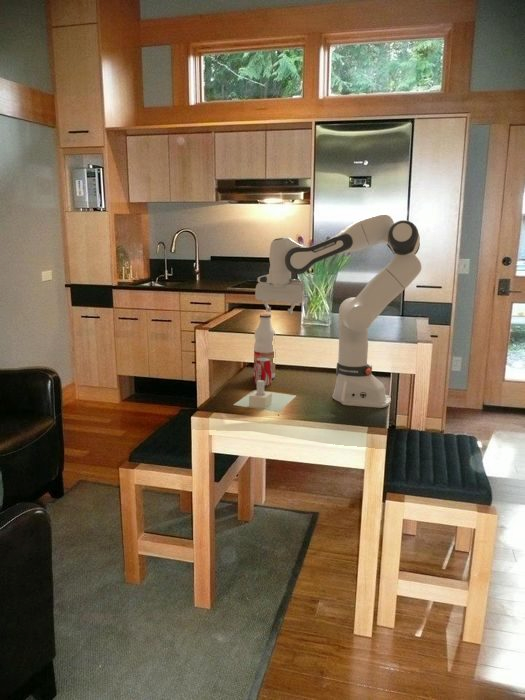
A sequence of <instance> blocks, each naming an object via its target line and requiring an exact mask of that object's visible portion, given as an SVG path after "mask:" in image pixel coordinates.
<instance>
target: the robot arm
mask: <svg viewBox="0 0 525 700" xmlns="http://www.w3.org/2000/svg"><path fill="white" fill-rule="evenodd" d="M420 239H421V238H420V234H419V230H418V227H417V226H416V225H415V224H414V223H413V222H412V221H410V220H405V219H402V220H398V221H396V222H395V221H394V220H393V218H392V217H391V216H390V215H389V214H388V213H383V212H382V213H376V214H373V215H369V216H366V217H364V218H361V219H359V220H356V221H354V222H352V223H351V224H349V225H347V226H345V227H344V228H343V229H341V230H340V231H338V232H337V233H336V234H335V235H333V236H332V237H330V238H328V239H326V240H324V241H321V242H319V243H316V244H313V245H311V246H305V245H302V244H300V243H298V242H296V241H294V240H293V239H292V238H291V237H288V236H287V237H286V236H285V237H284V236H283V237H279V238H274V239H273V240H272V241H271V242H270V246H269V247H270V248H269V264H270V265H269V269H268V270H269V272H268V274H264V275H261V276H258V277H257V282H258V283H256V286H255V290H254V291H255V294H254V297H255V299H256V300H257V301H263V305H264V307H265V312H267V313H269V312H271V311H272V310H271V309H272V307H271V306H269V302H281V303H290V308H288V309H287V314H290V315H292V314H293V312H294V310H293V309H294V308H295V306H296V304H301V303H304V302H305V291H304V290H305V287H306V286H305V282H304V281H303V280H302V279H296V278H295V279H294V278H292V274H295V275H301V274H304V273H306V272H307V271H309V270H310V269H311V268H312V267H313V266H314V264H316V263H318V262H322V261H324V260H325V259H329V258H330V257H333V256H336V255H339V254H345V253H352V252H358V251H364V250H366V249H368V248H370V247H374V246H376V245H379V244H386V246H387V247H388V248H389V250H390V251H391V252H392V254H393V255H394V256H393V258H392V260H391V261H390V262H389V263H388V264H387V265H386V266H384V267H383V268H382V269H381V270H380V271H379V272H378V273H376V275H375V276H374V277H373V278H371V279H370V280H369V281H368V282H367V284H366V285H365V286H364V287H363V289H362V290H361V291H360V292H359V293H358V295H357V296H354V297H353V296H352V297H348V298H346V299H344V300H342V302H341V304H340V306H339V309H338V359H337V363H336V370H335V371H336V372H335V374H336V381H335V385H334V391H333V393H332V395H331V397H332V399H334V400H335V401H337V402H339V403H340V404H341V405H344V406H351V407H353V406H354V407H364V408H365V407H366V408H379V409H381V408H386V407H388V406H389V405H390V404H391V401H392V398H391V397H390V395H389V394H386V388H385V385H384V383H383V382H382V381H381V380H379V379H378V378H377V377H376V376H375V375H373V365H370V364H368V353H369V352H368V351H369V350H368V348H369V340H368V339H369V338H368V328H370V327H371V325H372V324H373V322H374V321H376V320H377V318H378V317H379V316H380V314H381V313H382V312H383V311H384V310H385V309H386V307H387V306H388V305H389V304H391V302H392V301H394V299H395V298H397V297H398V296H399V295H400V294H401V293H403V291H404V290H406V289H407V288H408V287H409V285H411V283H412V282H413V281H414V280H416V278H417V277H418V276H419V274H421V271H422V262H421V261H420V259H419V258H418V257H417V253H418V252H419V250H420V247H421V245H420V244H421V243H420Z"/></svg>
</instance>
